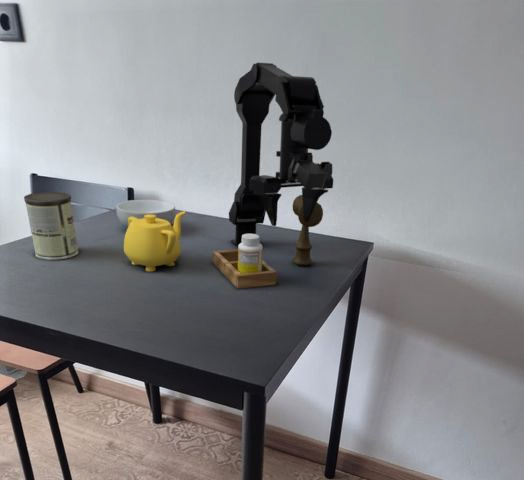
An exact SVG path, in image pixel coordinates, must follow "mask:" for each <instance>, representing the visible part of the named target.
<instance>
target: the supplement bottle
mask: <svg viewBox="0 0 524 480" xmlns="http://www.w3.org/2000/svg"><path fill="white" fill-rule="evenodd" d="M260 238H261V237H260V235H259V234H257V233H256V234H244V235H242V243H240V244H239V245H238V247H237V249H238V271H239V272H240V273H241V274H244V273H254V272H262V260H263V251H264V248H263V245H262V244H261V242H260V240H261V239H260Z"/></svg>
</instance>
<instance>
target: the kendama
mask: <svg viewBox="0 0 524 480" xmlns="http://www.w3.org/2000/svg"><path fill="white" fill-rule="evenodd" d="M292 212H293V214H294V215H295V216H297V218H298V221H299V223H300V224H301V229H300V234H299V237H298V241H297V242H296V243H295V244H294V247H295V249H296V250H295V255H294V257H293V258H292V263H293V264H294V265H296V266H299V267H300V266H301V267H305V266H306V267H307V266H311V265H312V264H313V260H312V258H311V250H312V249H313V245H312V244H311V240H310V228H313V227H316V226H318V225H319V224H320V223H321V222H322V220H323V217H324V209H323V206H322V205H321V204H320V203H319V202H317V203H316V205H315V208H314V210H313V213H312V215H311V218H310V220H309V222H305V221H304V214H303V199H302V194H300V195H297V196H296V197H295V198H294V200H293V202H292Z"/></svg>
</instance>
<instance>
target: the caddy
mask: <svg viewBox="0 0 524 480" xmlns="http://www.w3.org/2000/svg"><path fill="white" fill-rule="evenodd" d="M212 264H213V265H214V266H215V267H216V268H217V269H218V270H219V271H220V272H221V273H222V274H223V275H224V276H225V277H226V279H227V280H228V281H229V282H230V283H231V284H232V285H234V287H236V289H237V290H240V289H247V288H256V287H257V288H258V287H265V286H273V285H274V286H275V285H277V276H278V272H277V270H275V269H274V268H273V267H272V266H271V265H269V264H268V263H267V262H266V261H264V260H263V259H262V272H254V273H244V274H241V273H240V272H239V271H238V248H237V249H225V250H215V251H212Z"/></svg>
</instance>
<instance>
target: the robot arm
mask: <svg viewBox="0 0 524 480" xmlns="http://www.w3.org/2000/svg"><path fill="white" fill-rule="evenodd" d="M233 95H234V96H233V98H234V103H235V108H236V109H235V110H236V113H237V115H238V117H239V119H240V121H241V124H242V127H241V128H242V129H241V130H242V131H241V165H240V166H241V167H240V169H241V171H240V185H239V186H238V188H237V189H236V191H235V193H234V198H233V199H234V200H233V202H232V204H231V207H230V208H229V211H228V221H229V222H230V223H231V224H232V225H233V226H235V237H234V238H235V239H231V240H230V242H231V243H232V244H233V245H234V246H236V247H237V248H238V245H239V244H240V243H242V235H244V234H256V235H257V225H258V224H264V221H265V217H266V215H267V217H268V219H269V222H270V225H271V226H272V227H276V226H277V222H278V205H279V204H278V202H279V200H280V198H281V197H282V193H279V192H280V191H281V189H283V188H295V187H301V195H302V199H303V214H304V221H305V222H309V220H310V218H311V215H312V213H313V210H314V208H315V205H316V203H318V201H319V199H320V198H321V197H322V196H323V195H325V194H326V193H328V192H329V189H333V188H334V178H333V163H331V162H330V161H321V162H320V163H316V162H314V161H313V158H314V156H313V152H310V151H309V150H314V151H319V150H323V149H324V148H325V147H327V146H328V145H329V143H330V141H331V138H332V133H333V130H332V127H331V124H330V122H329V120H328V119H327V118H325V117H324V114H325V112H324V107H325V106H324V102H323V100H322V97H321V95H320V91H319V87H318V84H317V81H316V80H315V78H314V77H312V76H297V75H296V76H294V75H291V74H290V73H288V72H287V71H285V70H283V69H281V68H280V67H278V66H277V65H276V64H274V63H272V62H271V63H270V62H256V63H253V64H252V66H251V68H250V70H249V71H248V72H246V73H245V74H243V75H242V76H240V78H239V79H238V82H237V84H236V86H235V88H234V93H233ZM274 98H275V99H274ZM273 100H275V102H276V104H277V105H278V106H279V108H280V110H281V112H282V114H280V115H279V118H278V121H279V122H281V123H280V124H281V125H280V147H279V149H280V150H276V154H275V156H276V157H278V158H279V171H276V172H275V176H272V175H266V174H263V175H262V174H261V173H260V172H261V171H260V170H261V148H262V126H263V124H264V122H265V119H266V118H267V116H268V115H269V113H270V106H271V104H272V101H273ZM260 174H261V175H260Z"/></svg>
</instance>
